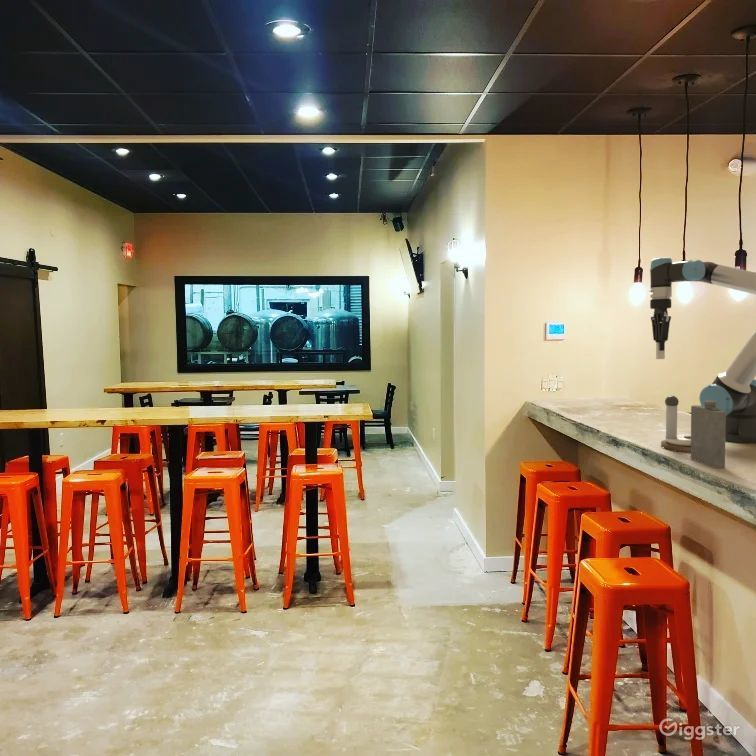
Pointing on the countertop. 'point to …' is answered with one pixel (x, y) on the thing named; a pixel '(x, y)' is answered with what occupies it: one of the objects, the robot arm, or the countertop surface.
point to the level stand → (675, 447)
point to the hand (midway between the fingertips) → (660, 358)
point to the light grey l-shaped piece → (674, 424)
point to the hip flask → (708, 434)
